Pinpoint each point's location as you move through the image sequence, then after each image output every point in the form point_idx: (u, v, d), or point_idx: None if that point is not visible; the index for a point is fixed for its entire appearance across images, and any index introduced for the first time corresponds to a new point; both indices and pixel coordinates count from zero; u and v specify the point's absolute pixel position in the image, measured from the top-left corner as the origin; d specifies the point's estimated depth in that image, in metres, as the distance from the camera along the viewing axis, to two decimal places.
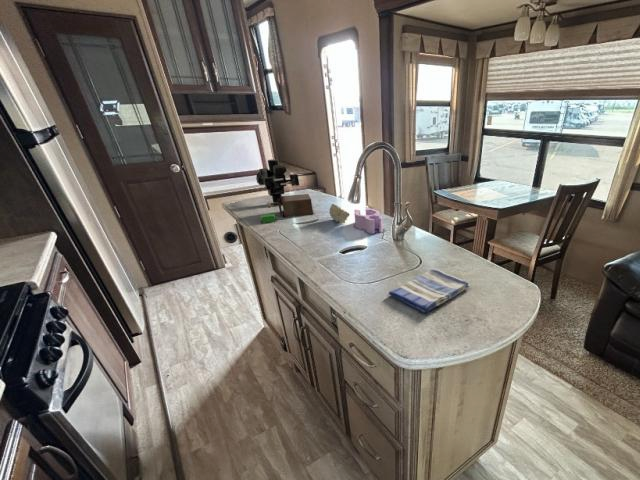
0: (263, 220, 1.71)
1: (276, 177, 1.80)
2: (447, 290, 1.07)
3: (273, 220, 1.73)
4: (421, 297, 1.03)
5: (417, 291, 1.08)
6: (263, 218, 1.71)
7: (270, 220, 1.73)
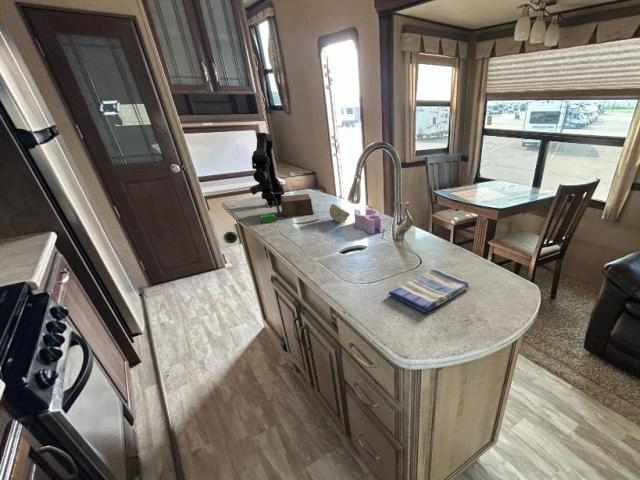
0: (263, 220, 1.71)
1: None
2: (447, 290, 1.07)
3: (273, 220, 1.73)
4: (421, 297, 1.03)
5: (417, 291, 1.08)
6: (263, 218, 1.71)
7: (270, 220, 1.73)
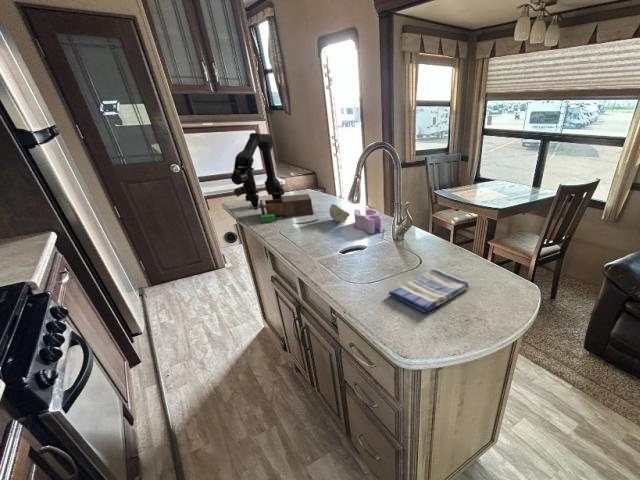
0: (263, 220, 1.71)
1: None
2: (447, 290, 1.07)
3: (273, 220, 1.73)
4: (421, 297, 1.03)
5: (417, 291, 1.08)
6: (263, 218, 1.71)
7: (270, 220, 1.73)
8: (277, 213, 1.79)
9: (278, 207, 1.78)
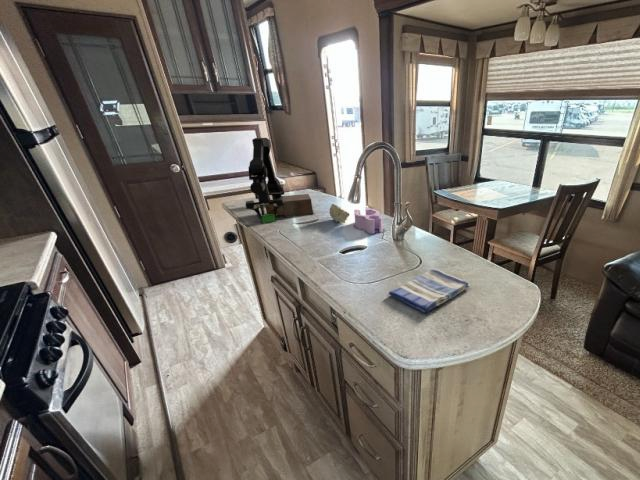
0: (263, 220, 1.71)
1: None
2: (447, 290, 1.07)
3: (273, 220, 1.73)
4: (421, 297, 1.03)
5: (417, 291, 1.08)
6: (263, 218, 1.71)
7: (270, 220, 1.73)
8: (277, 213, 1.79)
9: None
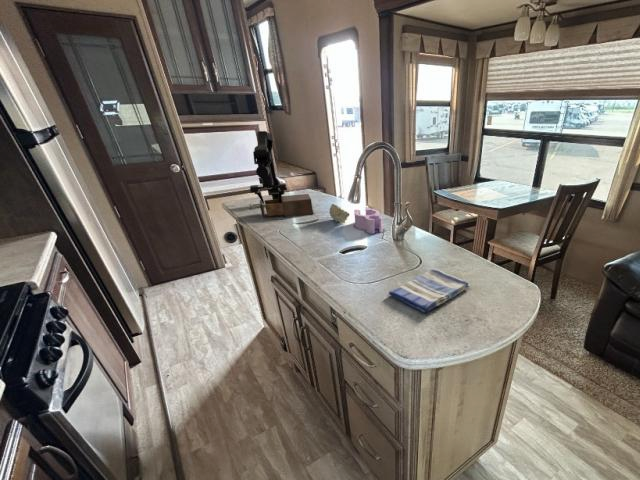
0: None
1: None
2: (447, 290, 1.07)
3: None
4: (421, 297, 1.03)
5: (417, 290, 1.08)
6: None
7: None
8: (277, 213, 1.79)
9: (278, 207, 1.78)
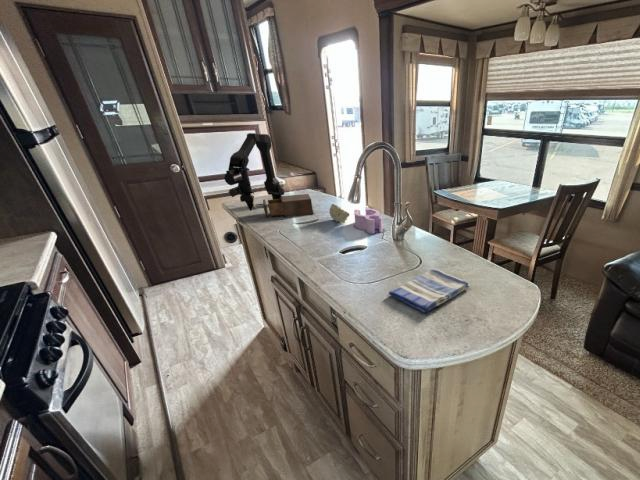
0: None
1: None
2: (447, 290, 1.07)
3: None
4: (421, 297, 1.03)
5: (417, 290, 1.08)
6: None
7: None
8: (280, 213, 1.80)
9: (281, 207, 1.78)
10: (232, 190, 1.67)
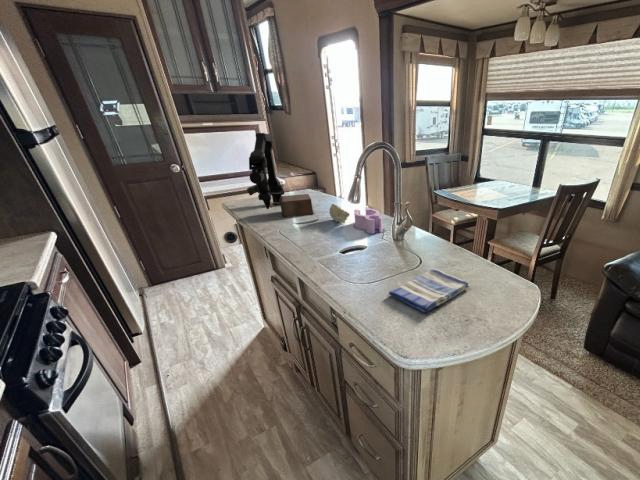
0: None
1: None
2: (447, 290, 1.07)
3: None
4: (421, 297, 1.03)
5: (417, 290, 1.08)
6: None
7: None
8: None
9: None
10: (250, 188, 1.69)
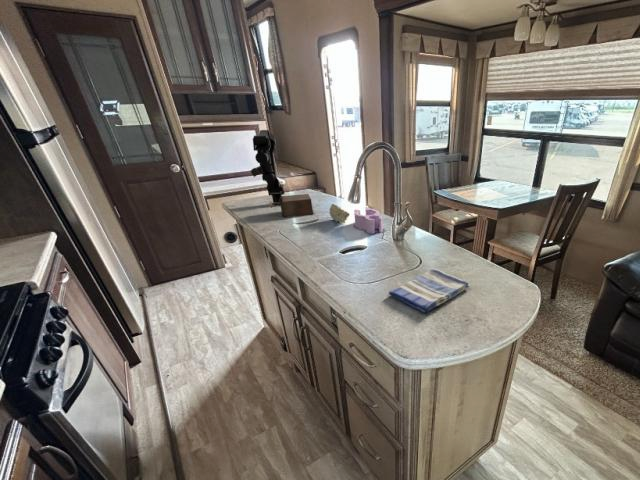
0: None
1: None
2: (447, 290, 1.07)
3: None
4: (421, 297, 1.03)
5: (417, 290, 1.08)
6: None
7: None
8: None
9: None
10: (254, 169, 1.72)
